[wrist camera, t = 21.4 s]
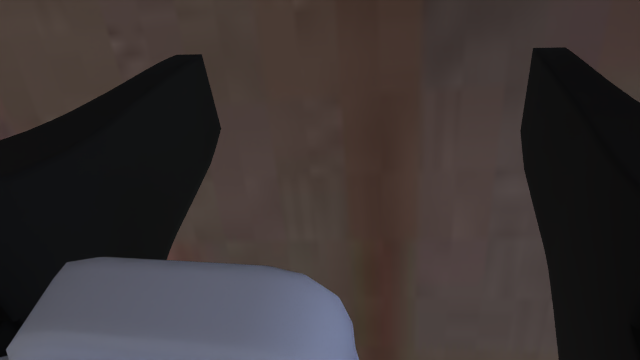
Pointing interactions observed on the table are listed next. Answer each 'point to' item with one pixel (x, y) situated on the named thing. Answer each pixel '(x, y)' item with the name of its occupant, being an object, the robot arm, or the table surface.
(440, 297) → the table surface
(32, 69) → the table surface
